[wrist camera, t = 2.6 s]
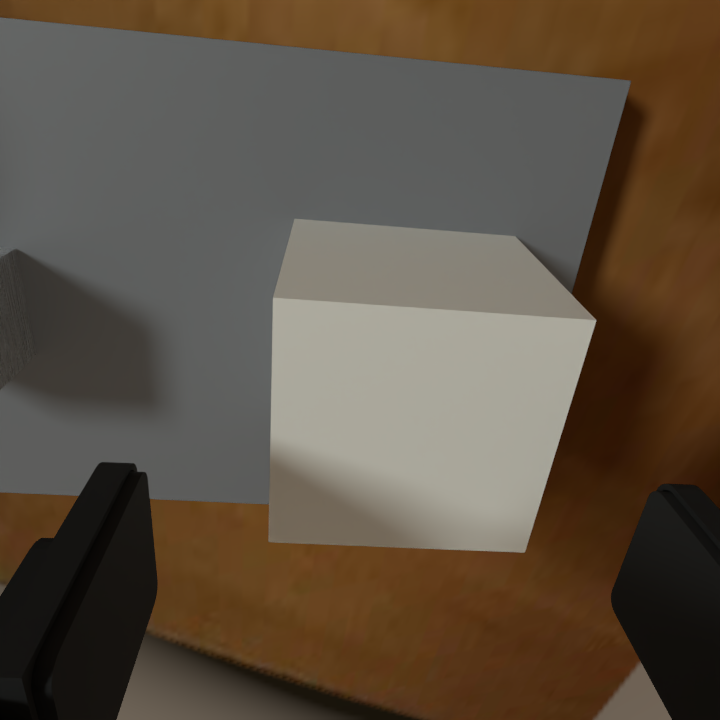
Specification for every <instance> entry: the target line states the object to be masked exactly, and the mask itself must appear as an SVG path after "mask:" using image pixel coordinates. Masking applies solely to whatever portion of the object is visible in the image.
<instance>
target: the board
mask: <svg viewBox="0 0 720 720" xmlns="http://www.w3.org/2000/svg"><path fill="white" fill-rule="evenodd" d="M630 83H631V81H627V80H617V79H607V78H597V77H587V76H578V75H568V74H558V73H548V72H538V71H528V70H518V69H508V68H498V67H488V66H478V65H468V64H458V63H448V62H438V61H428V60H418V59H408V58H398V57H388V56H378V55H368V54H358V53H348V52H338V51H328V50H318V49H308V48H299V47H289V46H279V45H269V44H259V43H249V42H239V41H229V40H219V39H209V38H199V37H189V36H179V35H169V34H159V33H149V32H139V31H129V30H119V29H109V28H99V27H89V26H79V25H69V24H59V23H49V22H39V21H29V20H20V19H10V18H0V247H3V248H16V252H17V257H18V262H19V267H20V272H21V277H22V282H23V287H24V292H25V297H26V302H27V307H28V312H29V317H30V322H31V327H32V332H33V337H34V342H35V347H36V352H37V354H36V355H35V356H34V357H33V358H32V359H31V360H30V361H29V362H28V363H27V364H26V365H25V366H24V367H23V368H22V369H21V370H20V371H19V372H18V373H17V374H16V375H15V376H14V377H13V378H12V379H11V380H10V381H9V382H8V383H7V384H6V385H5V386H4V387H3V388H2V389H1V390H0V492H8V493H31V494H53V495H75V496H79V495H80V493H81V492H82V490H83V488H84V487H85V485H86V483H87V482H88V480H89V478H90V477H91V475H92V473H93V472H94V470H95V468H96V467H97V465H98V464H99V463H101V462H115V463H134V464H135V465H136V467H137V472H146V474H147V477H148V486H149V497H150V499H163V500H186V501H208V502H230V503H252V504H269V489H270V433H271V378H272V322H273V296H274V292H275V288H276V285H277V281H278V277H279V274H280V270H281V266H282V263H283V259H284V256H285V252H286V248H287V245H288V241H289V237H290V234H291V230H292V226H293V223H294V219H306V220H319V221H331V222H344V223H356V224H369V225H381V226H394V227H406V228H419V229H432V230H444V231H457V232H469V233H482V234H494V235H507V236H516V238H517V239H518V240H519V241H520V242H521V243H522V244H523V245H524V246H525V247H526V248H527V249H528V250H529V251H530V252H531V253H532V254H533V255H534V256H535V257H536V258H537V259H538V260H539V261H540V262H541V263H542V264H543V265H544V266H545V268H546V269H547V270H548V271H549V272H550V273H551V274H552V275H553V276H554V277H555V278H556V279H557V280H558V281H559V282H560V283H561V284H562V285H563V286H564V287H565V288H566V289H567V290H568V291H569V292H570V293H571V294H572V290H573V287H574V283H575V280H576V276H577V272H578V269H579V265H580V262H581V258H582V255H583V251H584V247H585V244H586V240H587V237H588V233H589V229H590V226H591V222H592V219H593V215H594V212H595V208H596V204H597V201H598V197H599V194H600V190H601V187H602V183H603V179H604V176H605V172H606V169H607V165H608V162H609V158H610V154H611V151H612V147H613V144H614V140H615V136H616V133H617V129H618V126H619V122H620V119H621V115H622V111H623V108H624V104H625V101H626V97H627V94H628V90H629V86H630Z"/></svg>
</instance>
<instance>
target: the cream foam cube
mask: <svg viewBox="0 0 720 720" xmlns="http://www.w3.org/2000/svg"><path fill="white" fill-rule="evenodd" d="M595 324H596V319H595V318H594V317H593V316H592V315H591V314H590V313H589V312H588V311H587V310H586V309H585V308H584V307H583V306H582V305H581V304H580V303H579V302H578V301H577V300H576V299H575V298H574V296H573V295H572V294H571V293H570V292H569V291H568V290H567V289H566V288H565V287H564V286H563V285H562V284H561V283H560V282H559V281H558V280H557V279H556V278H555V277H554V276H553V275H552V274H551V273H550V272H549V271H548V270H547V269H546V268H545V266H544V265H543V264H542V263H541V262H540V261H539V260H538V259H537V258H536V257H535V256H534V255H533V254H532V253H531V252H530V251H529V250H528V249H527V248H526V247H525V246H524V245H523V244H522V243H521V242H520V241H519V240H518V239H517V238H516V236H507V235H494V234H482V233H469V232H457V231H444V230H432V229H419V228H406V227H394V226H381V225H369V224H356V223H344V222H331V221H319V220H306V219H294V223H293V226H292V230H291V234H290V237H289V241H288V245H287V248H286V252H285V256H284V259H283V263H282V266H281V270H280V274H279V277H278V281H277V285H276V288H275V292H274V296H273V322H272V378H271V433H270V489H269V542H278V543H302V544H327V545H352V546H376V547H401V548H426V549H450V550H475V551H500V552H524V553H525V550H526V547H527V544H528V541H529V537H530V534H531V531H532V528H533V524H534V521H535V518H536V515H537V511H538V508H539V505H540V502H541V499H542V495H543V492H544V489H545V486H546V482H547V479H548V476H549V473H550V469H551V466H552V463H553V460H554V456H555V453H556V450H557V447H558V443H559V440H560V437H561V434H562V430H563V427H564V424H565V421H566V418H567V414H568V411H569V408H570V405H571V401H572V398H573V395H574V392H575V388H576V385H577V382H578V379H579V375H580V372H581V369H582V366H583V362H584V359H585V356H586V353H587V350H588V346H589V343H590V340H591V337H592V333H593V330H594V327H595Z"/></svg>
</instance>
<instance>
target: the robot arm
mask: <svg viewBox="0 0 720 720" xmlns="http://www.w3.org/2000/svg"><path fill="white" fill-rule="evenodd" d="M156 594H157V571H156V561H155V550H154V539H153V529H152V518H151V508H150V497H149V486H148V477H147V474H146V472H137V467H136V465H135V464H134V463H115V462H101V463H99V464H98V465H97V467H96V468H95V470H94V472H93V473H92V475H91V477H90V478H89V480H88V482H87V483H86V485H85V487H84V488H83V490H82V492H81V493H80V495H79V497H78V498H77V500H76V502H75V504H74V505H73V507H72V509H71V510H70V512H69V514H68V515H67V517H66V519H65V520H64V522H63V524H62V525H61V527H60V529H59V530H58V532H57V534H56V536H55V537H54V538H41V539H39V540H38V541H36V542H35V543H34V545H33V546H32V547H31V549H30V550H29V552H28V553H27V555H26V556H25V558H24V559H23V561H22V563H21V564H20V566H19V567H18V569H17V571H16V572H15V574H14V575H13V577H12V578H11V580H10V582H9V583H8V585H7V586H6V588H5V590H4V591H3V593H2V594H1V596H0V720H116V719H117V716H118V713H119V710H120V707H121V704H122V701H123V698H124V695H125V692H126V688H127V686H128V683H129V679H130V676H131V673H132V670H133V667H134V664H135V661H136V658H137V655H138V652H139V649H140V646H141V643H142V640H143V637H144V634H145V631H146V628H147V625H148V622H149V619H150V616H151V613H152V610H153V606H154V603H155V599H156ZM611 602H612V607H613V610H614V612H615V614H616V616H617V618H618V620H619V622H620V624H621V626H622V627H623V629H624V631H625V633H626V635H627V637H628V639H629V640H630V642H631V644H632V646H633V648H634V650H635V652H636V653H637V655H638V657H639V659H640V661H641V663H642V665H643V666H644V668H645V670H646V672H647V674H648V676H649V678H650V679H651V681H652V683H653V685H654V687H655V689H656V690H657V692H658V694H659V696H660V698H661V700H662V702H663V703H664V705H665V707H666V709H667V711H668V713H669V715H670V716H671V718H672V720H720V510H719V509H718V507H717V506H716V505H715V504H714V503H713V502H712V501H711V500H710V499H709V498H708V496H707V495H706V494H705V493H704V492H703V491H702V490H701V489H700V488H699V487H697V486H695V485H684V484H662V485H661V486H660V487H658V489H657V491H654V492H652V493H651V494H650V495H649V497H648V499H647V502H646V505H645V507H644V510H643V512H642V515H641V517H640V520H639V523H638V525H637V528H636V530H635V533H634V536H633V538H632V541H631V543H630V546H629V548H628V551H627V554H626V556H625V559H624V561H623V564H622V566H621V569H620V572H619V574H618V577H617V579H616V582H615V584H614V587H613V590H612V593H611Z"/></svg>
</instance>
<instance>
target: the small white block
mask: <svg viewBox="0 0 720 720" xmlns="http://www.w3.org/2000/svg"><path fill="white" fill-rule="evenodd" d="M36 354H37V352H36V347H35V342H34V337H33V332H32V327H31V322H30V317H29V312H28V307H27V302H26V297H25V292H24V287H23V282H22V277H21V272H20V267H19V262H18V257H17V252H16V248H3V247H0V390H1V389H2V388H3V387H4V386H5V385H6V384H7V383H8V382H9V381H10V380H11V379H12V378H13V377H14V376H15V375H16V374H17V373H18V372H19V371H20V370H21V369H22V368H23V367H24V366H25V365H26V364H27V363H28V362H29V361H30V360H31V359H32V358H33V357H34V356H35V355H36Z"/></svg>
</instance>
